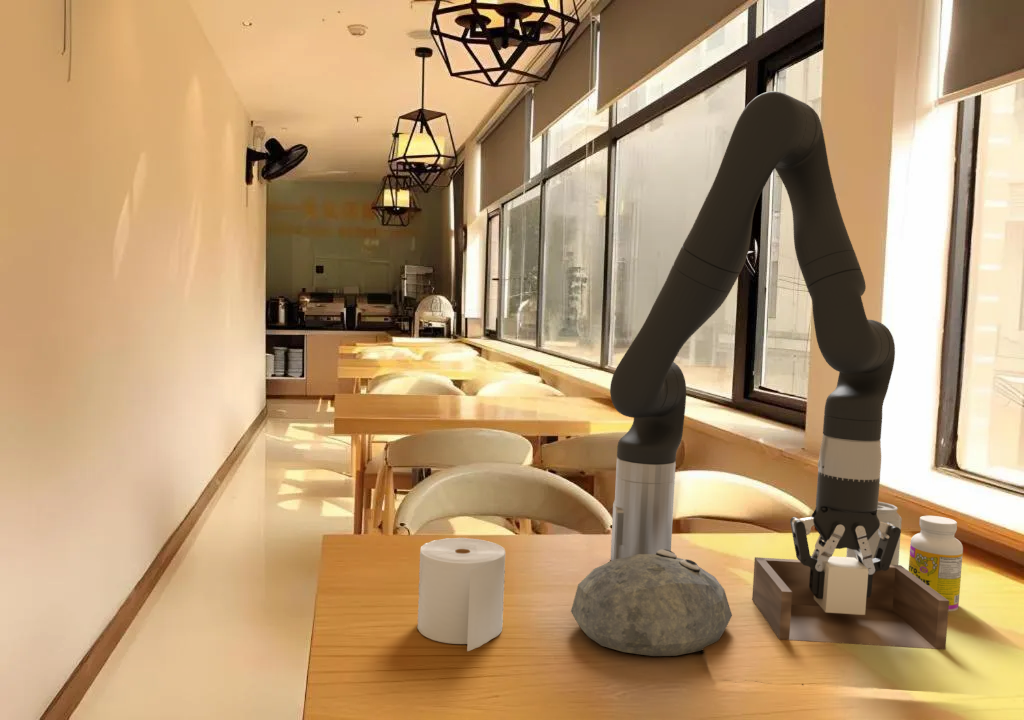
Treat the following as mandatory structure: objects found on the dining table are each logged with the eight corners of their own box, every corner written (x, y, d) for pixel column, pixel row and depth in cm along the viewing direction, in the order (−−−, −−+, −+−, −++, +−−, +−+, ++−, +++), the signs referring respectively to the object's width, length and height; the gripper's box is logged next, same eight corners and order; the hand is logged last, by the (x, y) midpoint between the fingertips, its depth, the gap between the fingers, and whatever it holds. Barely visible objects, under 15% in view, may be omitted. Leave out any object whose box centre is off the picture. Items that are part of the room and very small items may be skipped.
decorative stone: (548, 617, 108) (551, 542, 107) (681, 602, 115) (685, 532, 115) (613, 674, 91) (617, 586, 91) (764, 652, 99) (768, 571, 98)
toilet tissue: (464, 606, 110) (466, 533, 109) (527, 634, 101) (531, 554, 101) (399, 625, 102) (402, 547, 102) (462, 657, 94) (466, 571, 93)
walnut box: (778, 645, 101) (782, 591, 101) (751, 604, 115) (754, 557, 114) (945, 655, 100) (949, 600, 99) (897, 613, 114) (900, 565, 113)
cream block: (825, 612, 106) (829, 567, 106) (813, 598, 111) (816, 555, 111) (865, 614, 106) (868, 569, 105) (851, 601, 111) (854, 557, 110)
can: (887, 573, 132) (892, 500, 131) (904, 588, 125) (910, 511, 124) (839, 570, 133) (843, 497, 132) (853, 585, 125) (858, 508, 125)
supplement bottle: (896, 599, 120) (902, 513, 119) (939, 600, 120) (945, 513, 119) (923, 617, 113) (929, 525, 112) (968, 617, 114) (975, 526, 113)
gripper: (801, 474, 104) (792, 605, 105) (917, 480, 103) (907, 612, 104) (785, 462, 111) (777, 585, 112) (892, 468, 111) (883, 591, 112)
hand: (839, 597), depth 108 cm, fingers closed on cream block, 5 cm apart
